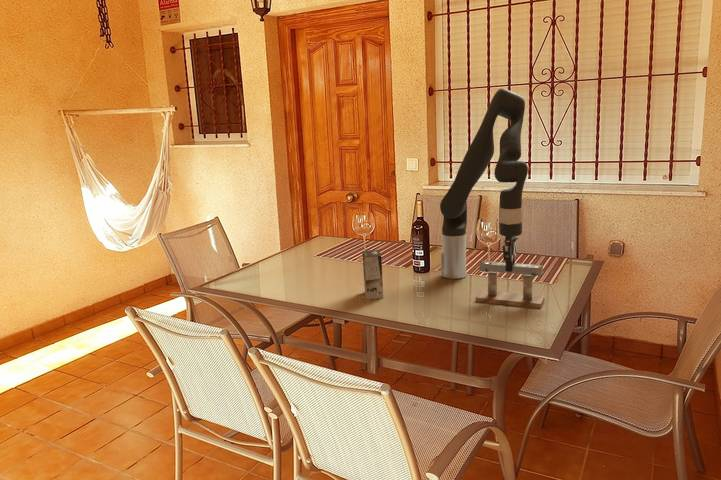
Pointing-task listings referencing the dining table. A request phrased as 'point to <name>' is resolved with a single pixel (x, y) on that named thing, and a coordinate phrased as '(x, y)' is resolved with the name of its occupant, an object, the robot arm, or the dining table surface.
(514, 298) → the peg stand
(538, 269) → the grey knobbed bar
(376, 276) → the coffee box
